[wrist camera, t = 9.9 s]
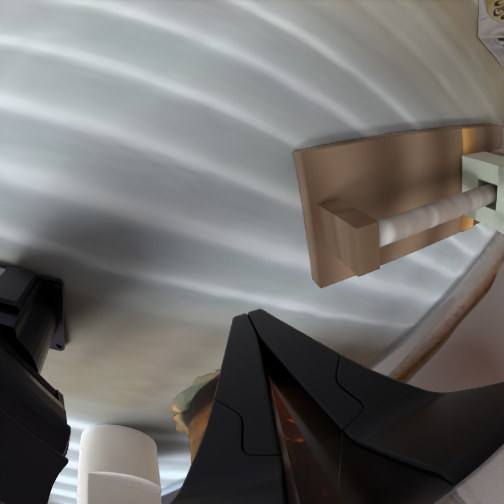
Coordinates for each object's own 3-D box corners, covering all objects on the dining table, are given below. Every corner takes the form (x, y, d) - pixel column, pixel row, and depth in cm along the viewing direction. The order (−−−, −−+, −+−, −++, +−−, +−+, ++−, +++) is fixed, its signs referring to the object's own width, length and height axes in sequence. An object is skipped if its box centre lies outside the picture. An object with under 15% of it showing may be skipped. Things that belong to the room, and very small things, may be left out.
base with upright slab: (70, 443, 26) (64, 530, 15) (101, 413, 25) (98, 520, 14) (133, 468, 30) (140, 547, 19) (172, 443, 29) (187, 536, 18)
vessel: (247, 453, 33) (294, 587, 15) (146, 423, 27) (165, 603, 9) (332, 386, 31) (422, 533, 13) (231, 336, 25) (321, 581, 7)
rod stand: (312, 278, 24) (370, 346, 16) (292, 151, 19) (367, 174, 12) (489, 209, 27) (545, 236, 20) (490, 123, 23) (554, 138, 15)
